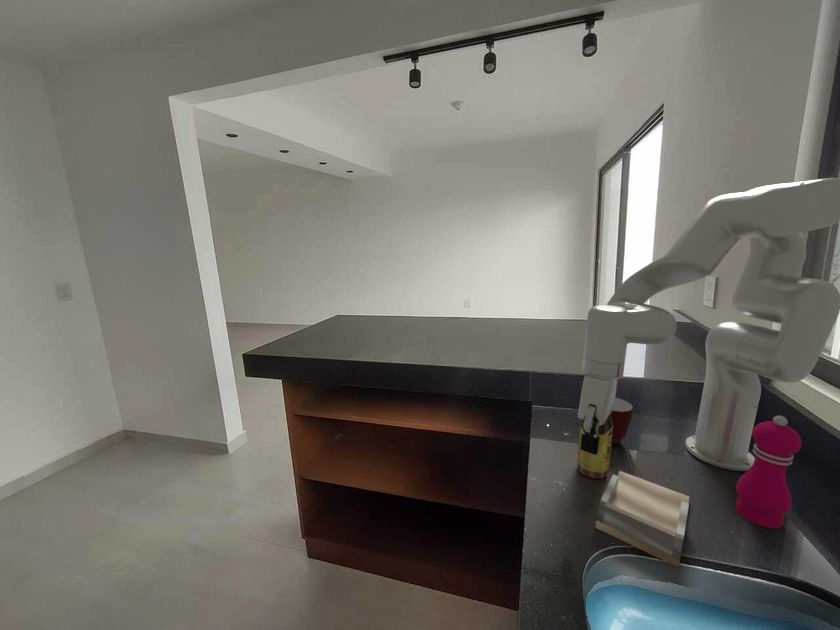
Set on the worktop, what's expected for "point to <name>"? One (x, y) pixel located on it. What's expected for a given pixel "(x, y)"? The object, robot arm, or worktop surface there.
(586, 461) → the sauce bottle
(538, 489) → the worktop surface
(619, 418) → the mug
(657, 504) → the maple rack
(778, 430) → the pepper mill
